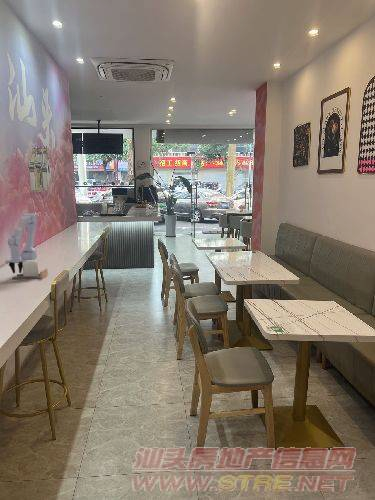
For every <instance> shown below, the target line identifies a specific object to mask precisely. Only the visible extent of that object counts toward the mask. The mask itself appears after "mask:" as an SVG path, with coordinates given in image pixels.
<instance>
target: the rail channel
mask: <svg viewBox="0 0 375 500" xmlns="http://www.w3.org/2000/svg"><path fill="white" fill-rule="evenodd" d="M47 276H48V268H43V269H42V270H41V271H39V276H26V277H24V276H23V273H17V274H16V276H12V280H30V279H32V280H34V279H35V280H36V279H37V280H42V279H44V278H46V277H47Z"/></svg>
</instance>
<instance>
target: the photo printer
mask: <svg viewBox="0 0 375 500" xmlns="http://www.w3.org/2000/svg"><path fill="white" fill-rule="evenodd" d="M38 263H39V262H38V260H36V259H35V260H27V261H26V262H23V264H22V266H23V267H22V274H23V276H22V277H26V276H39V274H40V272H39V265H38Z"/></svg>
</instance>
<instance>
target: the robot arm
mask: <svg viewBox="0 0 375 500" xmlns="http://www.w3.org/2000/svg"><path fill="white" fill-rule="evenodd" d="M20 220H21V221H20V223H19V226H18V228H16V229H14V231H13V234H12V235H11V237H9V238H8V239H7V245H8V248H10V249H9V251H10V256H11V257H10V259H7V260H4V262H5V264H8V266H9V267H10V269H11V271H12V274H15V273H16V264H17V267H18V274H22V273H23V266H22V264H23V262H26V261H27V260H36V259H37V257H38V256H37V250H36V249H35V248H34V245H35V244H34V243H35V236H36V230H37V229H36V227H37V224H38V216H37V214H36V213H22V214H21V216H20ZM26 227H27V233H26V240H25V241H26V242H25V248H23V249H22V251H21V254H20V244H21V240H22V236H23V234H24V229H26Z"/></svg>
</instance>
